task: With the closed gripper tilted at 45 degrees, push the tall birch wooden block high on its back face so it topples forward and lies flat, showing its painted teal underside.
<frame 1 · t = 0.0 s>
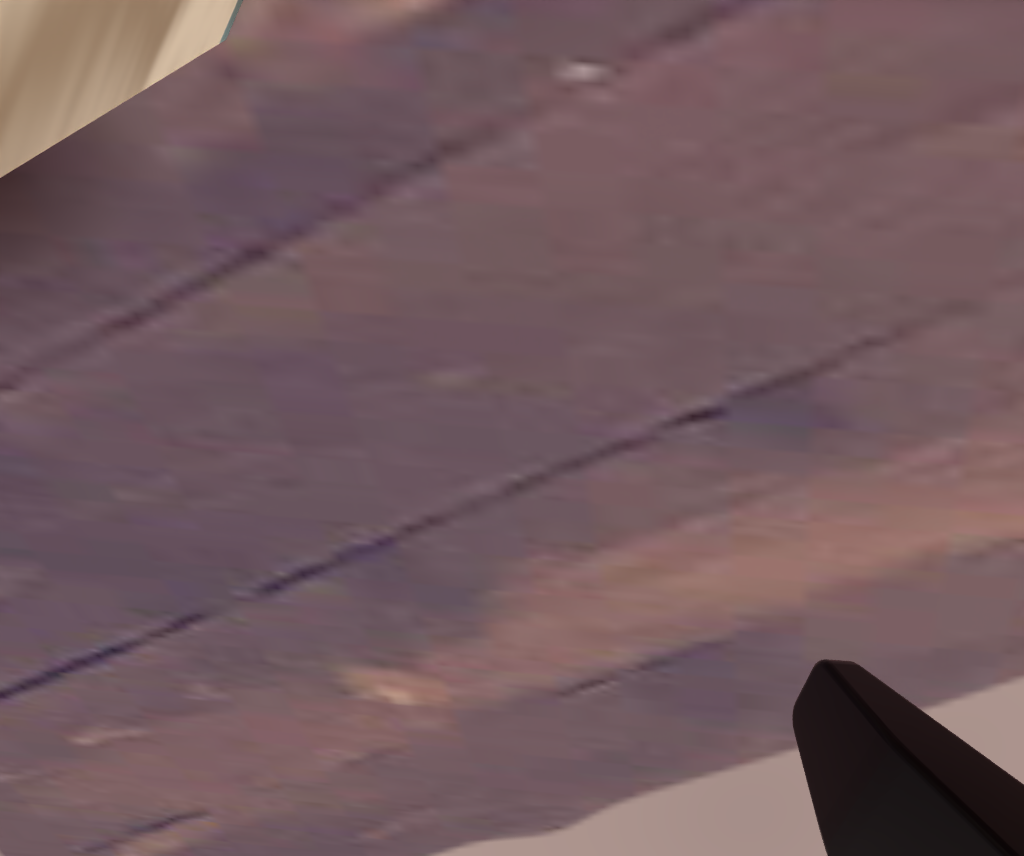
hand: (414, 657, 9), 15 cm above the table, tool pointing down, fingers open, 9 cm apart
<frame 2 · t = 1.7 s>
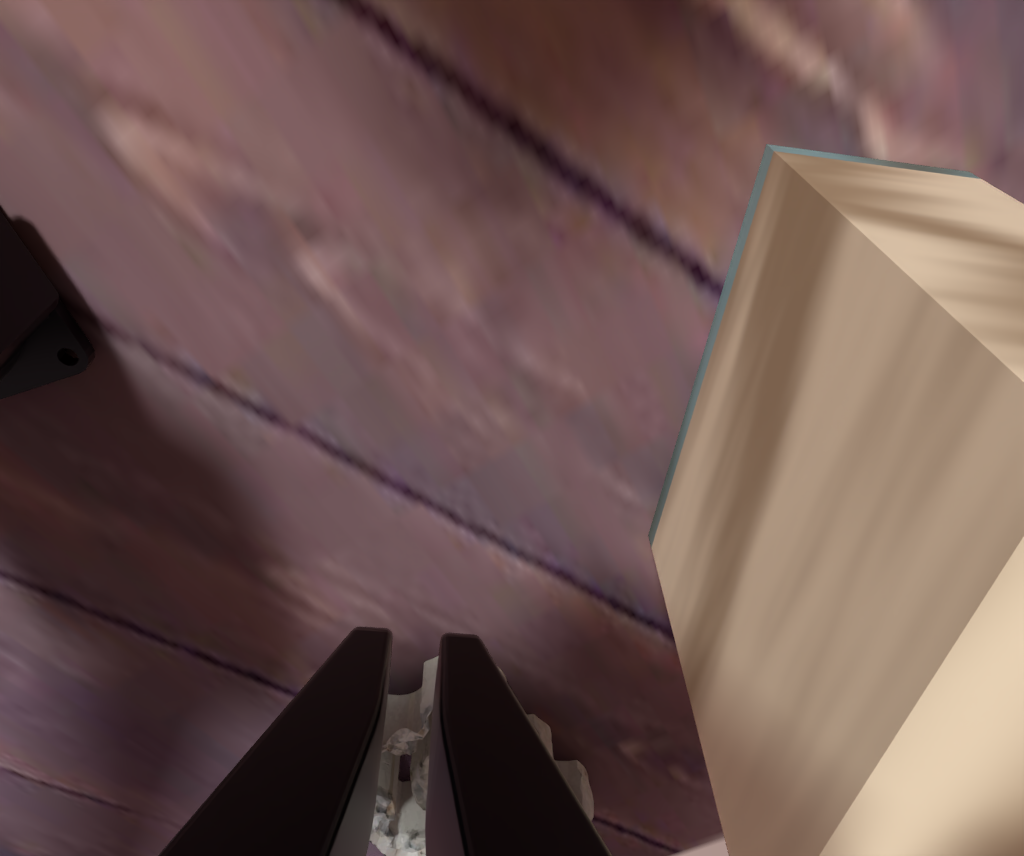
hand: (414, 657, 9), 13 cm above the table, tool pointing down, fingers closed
birch block: (786, 377, 22), on the table
egg carton: (464, 740, 32), on the table
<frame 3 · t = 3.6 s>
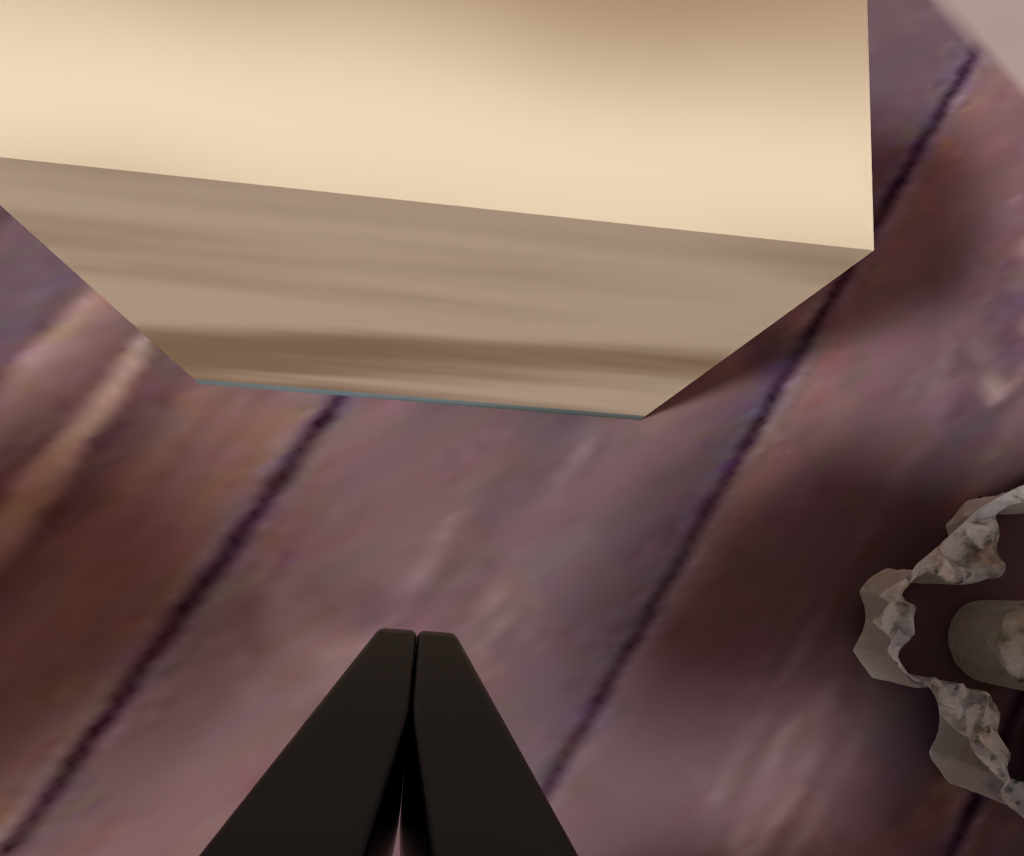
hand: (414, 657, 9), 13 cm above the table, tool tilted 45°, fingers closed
birch block: (432, 315, 23), on the table
egg carton: (1020, 609, 23), on the table
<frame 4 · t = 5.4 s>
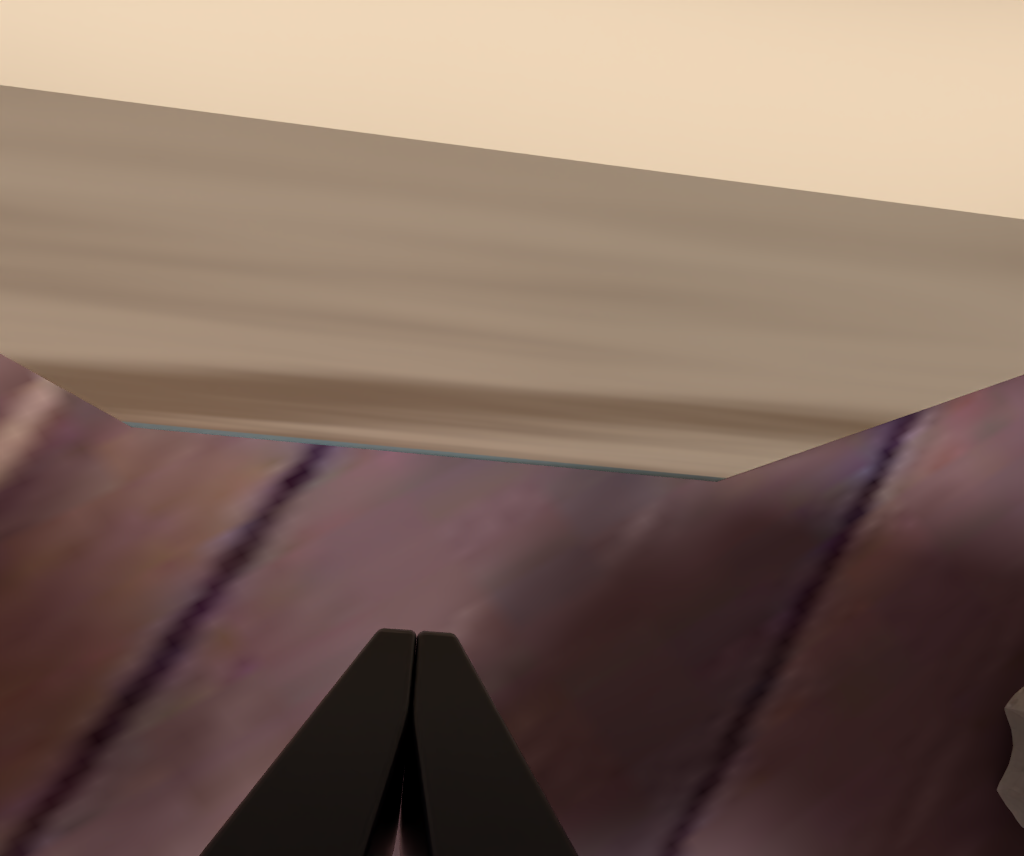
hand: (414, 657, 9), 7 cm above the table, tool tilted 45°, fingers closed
birch block: (445, 339, 17), on the table
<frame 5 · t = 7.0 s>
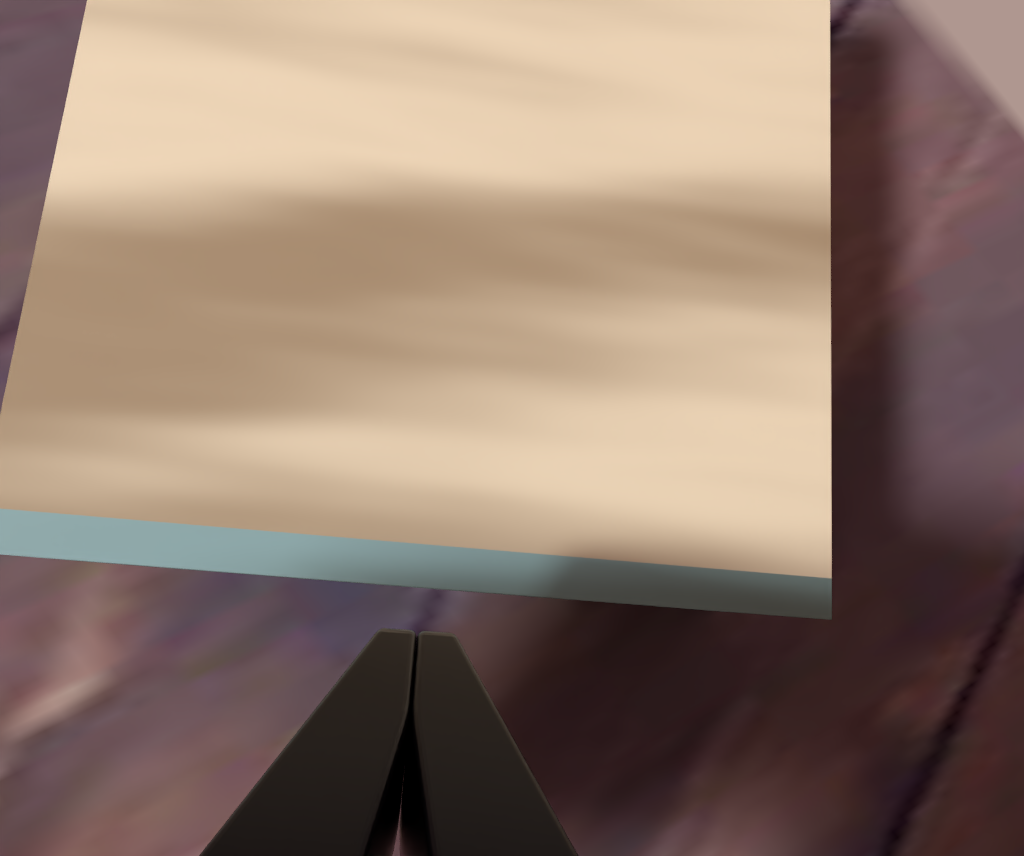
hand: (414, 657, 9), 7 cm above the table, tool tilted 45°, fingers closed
birch block: (422, 587, 14), point 2 cm above the table, tilted 90°
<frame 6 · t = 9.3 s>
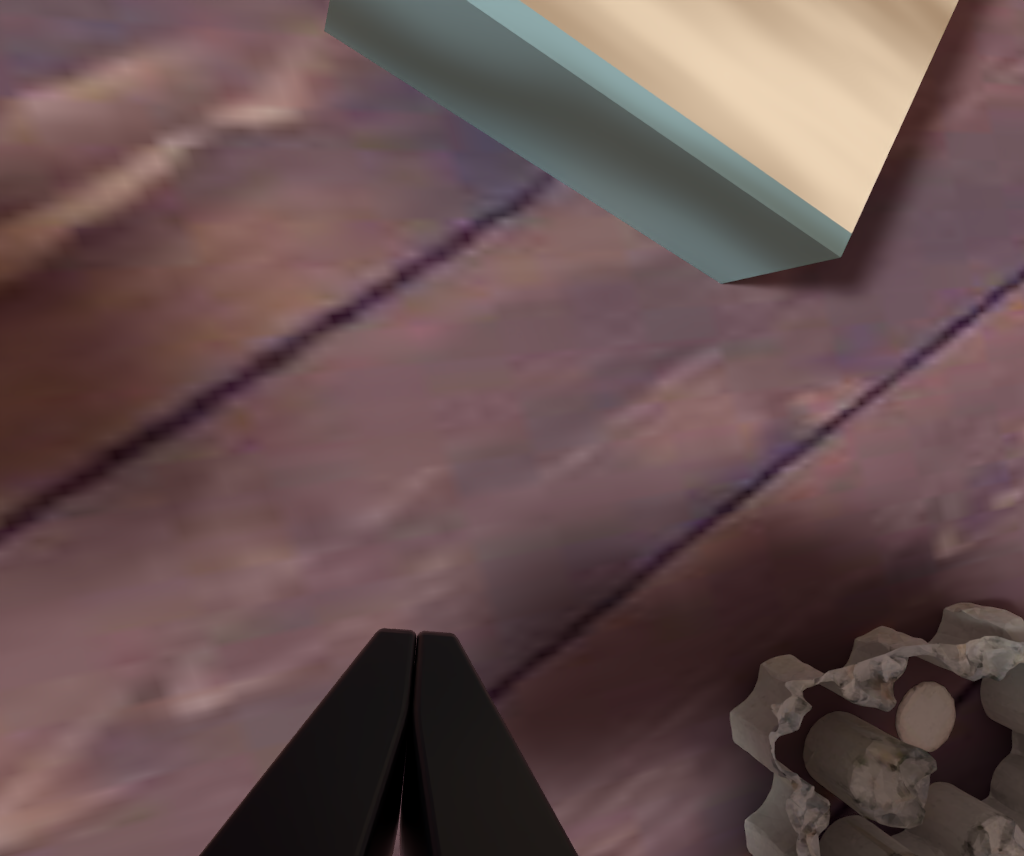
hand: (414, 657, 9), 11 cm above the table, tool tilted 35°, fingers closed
birch block: (573, 141, 18), point 2 cm above the table, tilted 90°
egg carton: (871, 731, 25), on the table
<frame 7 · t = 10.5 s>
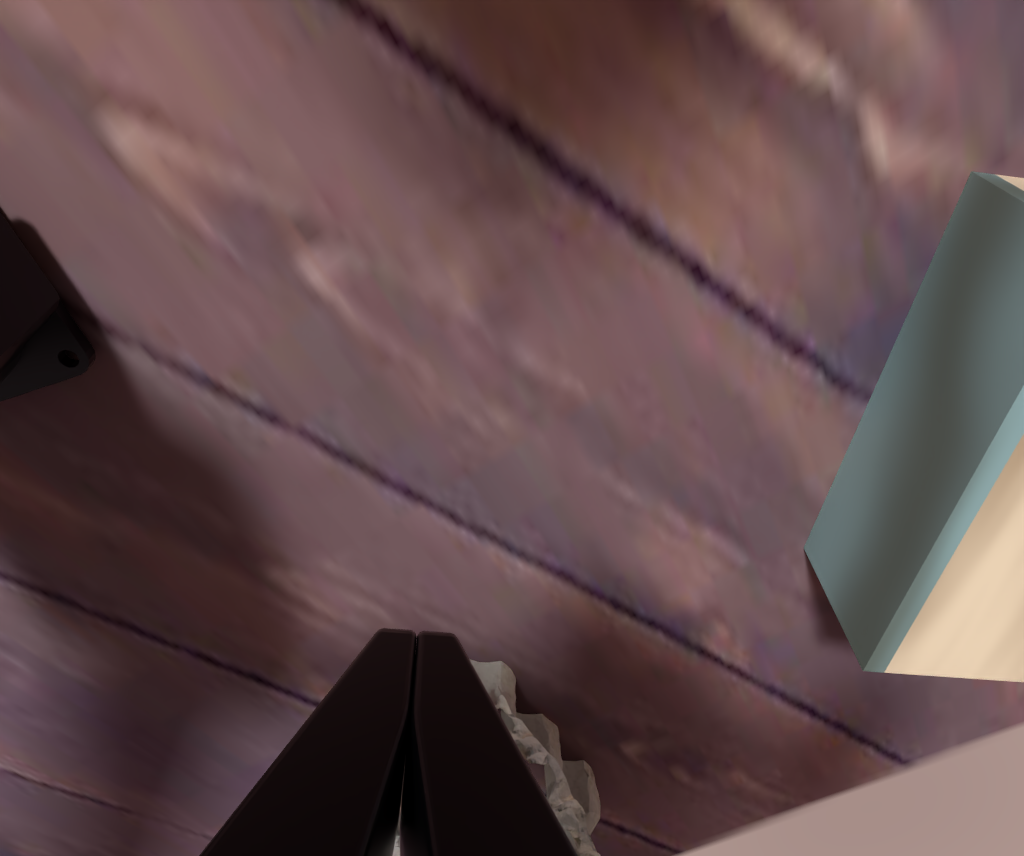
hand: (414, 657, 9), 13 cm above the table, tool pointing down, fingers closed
birch block: (912, 435, 21), point 2 cm above the table, tilted 90°
egg carton: (471, 739, 31), on the table
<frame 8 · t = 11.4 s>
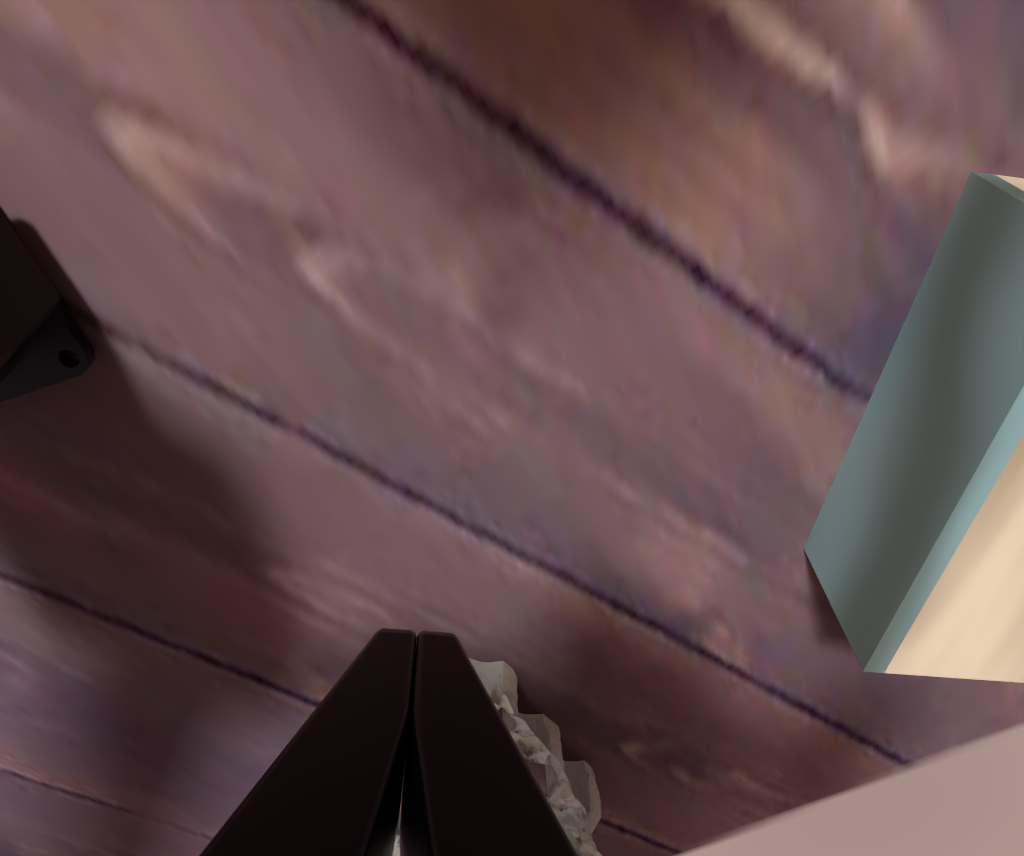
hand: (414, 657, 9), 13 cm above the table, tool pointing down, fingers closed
birch block: (912, 435, 21), point 2 cm above the table, tilted 90°
egg carton: (472, 739, 31), on the table
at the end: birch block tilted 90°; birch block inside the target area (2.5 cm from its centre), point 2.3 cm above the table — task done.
